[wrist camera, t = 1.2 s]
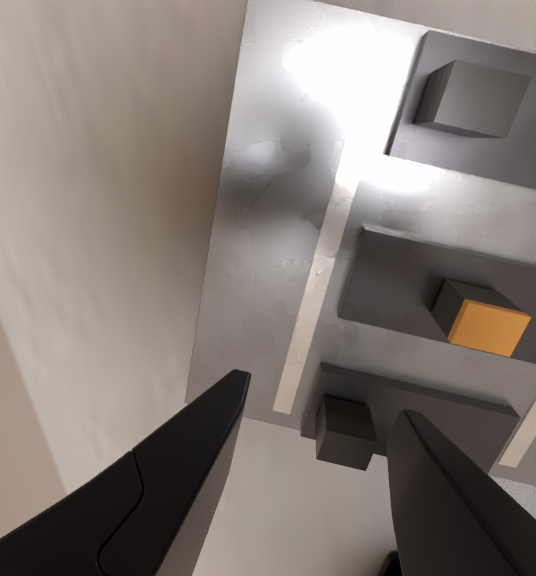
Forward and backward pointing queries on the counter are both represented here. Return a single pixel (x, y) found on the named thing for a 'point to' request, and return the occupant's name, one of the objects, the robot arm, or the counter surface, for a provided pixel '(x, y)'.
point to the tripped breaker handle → (479, 318)
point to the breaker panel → (373, 232)
